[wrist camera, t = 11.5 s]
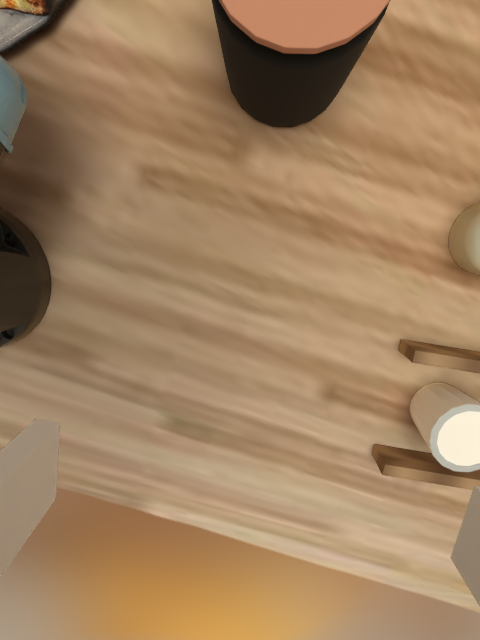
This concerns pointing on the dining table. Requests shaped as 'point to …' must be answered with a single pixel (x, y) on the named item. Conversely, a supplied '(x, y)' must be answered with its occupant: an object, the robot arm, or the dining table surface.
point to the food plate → (24, 19)
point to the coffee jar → (292, 52)
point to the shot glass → (448, 425)
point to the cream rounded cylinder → (466, 239)
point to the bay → (423, 463)
